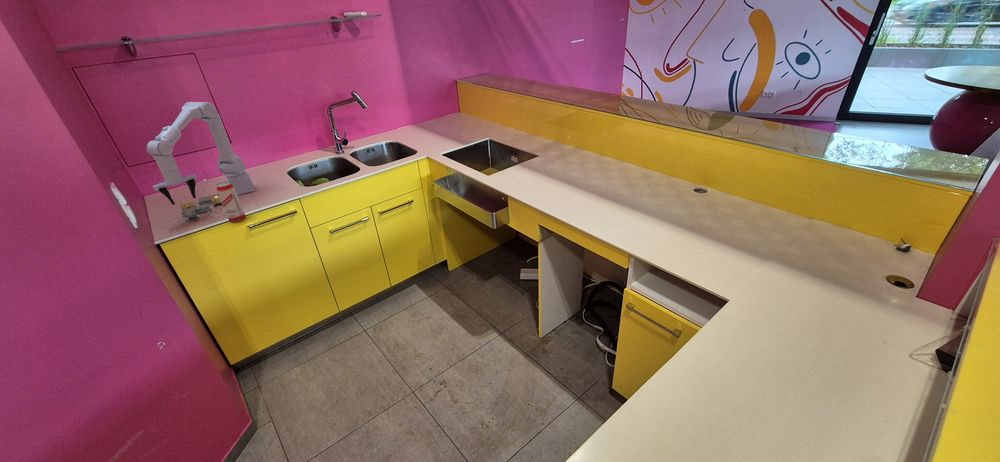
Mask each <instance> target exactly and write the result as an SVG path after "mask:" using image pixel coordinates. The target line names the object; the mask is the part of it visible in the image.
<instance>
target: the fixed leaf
mask: <svg viewBox="0 0 1000 462" xmlns="http://www.w3.org/2000/svg"><path fill="white" fill-rule="evenodd" d="M198 204H199V205H198V206H200V205H204V204H209V205H212V206H217V205H222V203H221V200H220V198H219V195H218V193H216V194H211V195H207V196H202V197H198Z"/></svg>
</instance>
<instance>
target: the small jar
mask: <svg viewBox="0 0 1000 462" xmlns="http://www.w3.org/2000/svg"><path fill="white" fill-rule="evenodd" d="M186 202H187V203H184V202H183V203H184V204H182V205H180V208H181V207H182V208H184V210H185V212H186V214H187V216H186V217H187V219H189V220H195V219H197V218H198V217H199V216H198V214H196V212H195V210H194V208H193V203H192V202H188V201H186ZM182 208H181V209H182ZM197 216H198V217H197Z"/></svg>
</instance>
